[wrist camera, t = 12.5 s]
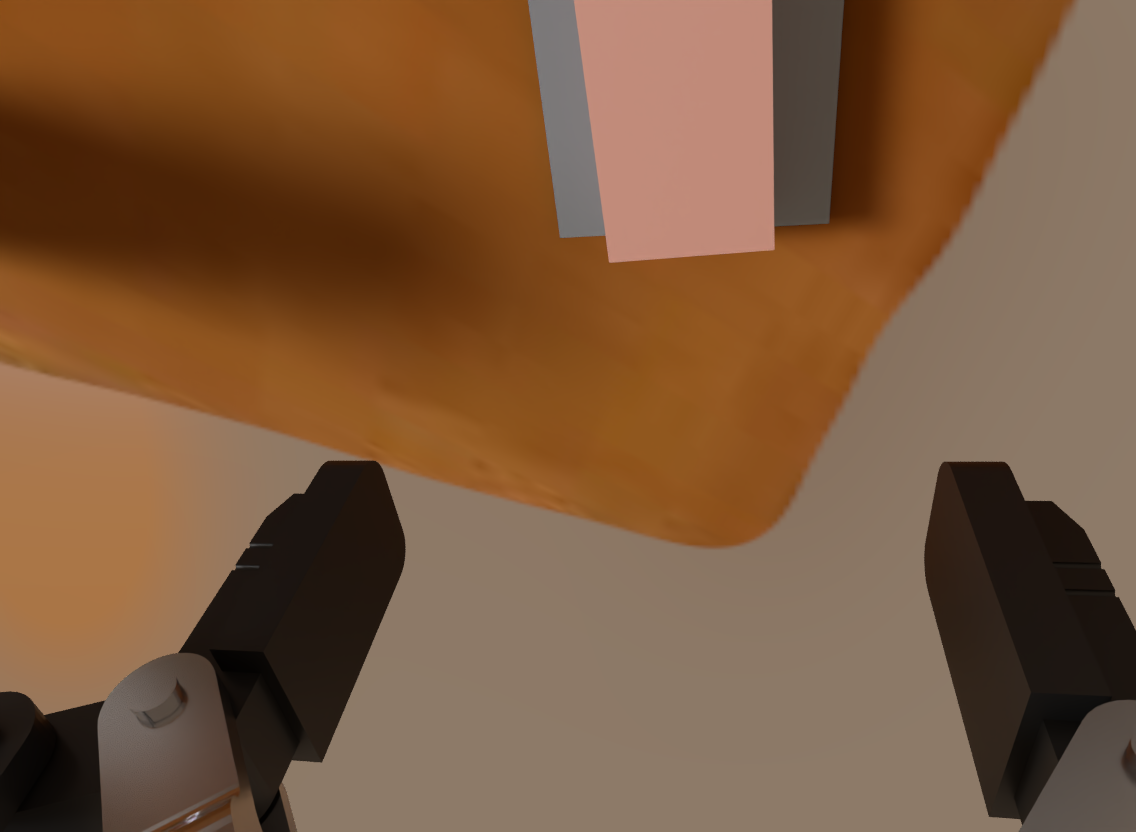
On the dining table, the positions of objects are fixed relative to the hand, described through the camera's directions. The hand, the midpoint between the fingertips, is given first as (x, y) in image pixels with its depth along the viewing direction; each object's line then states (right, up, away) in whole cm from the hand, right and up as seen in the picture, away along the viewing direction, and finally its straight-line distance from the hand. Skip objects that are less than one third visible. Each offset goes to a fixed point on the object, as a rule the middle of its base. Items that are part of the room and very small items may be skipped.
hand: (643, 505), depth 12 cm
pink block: (+2, +14, +11) cm, 18 cm away
